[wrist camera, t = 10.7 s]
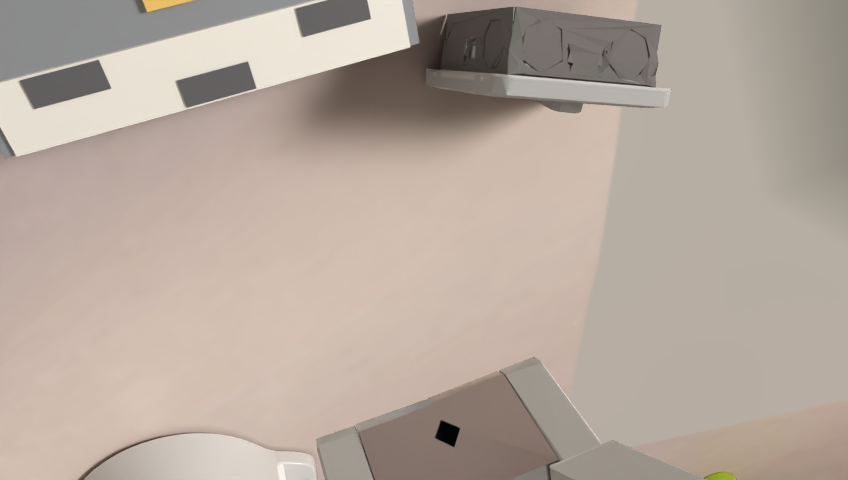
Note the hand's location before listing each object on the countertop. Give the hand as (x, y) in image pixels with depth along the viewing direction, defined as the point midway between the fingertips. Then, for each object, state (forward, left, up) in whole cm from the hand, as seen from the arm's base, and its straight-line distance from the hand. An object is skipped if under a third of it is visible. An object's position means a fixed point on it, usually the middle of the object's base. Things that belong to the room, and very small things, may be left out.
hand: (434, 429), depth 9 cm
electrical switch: (-7, -13, -29) cm, 33 cm away
